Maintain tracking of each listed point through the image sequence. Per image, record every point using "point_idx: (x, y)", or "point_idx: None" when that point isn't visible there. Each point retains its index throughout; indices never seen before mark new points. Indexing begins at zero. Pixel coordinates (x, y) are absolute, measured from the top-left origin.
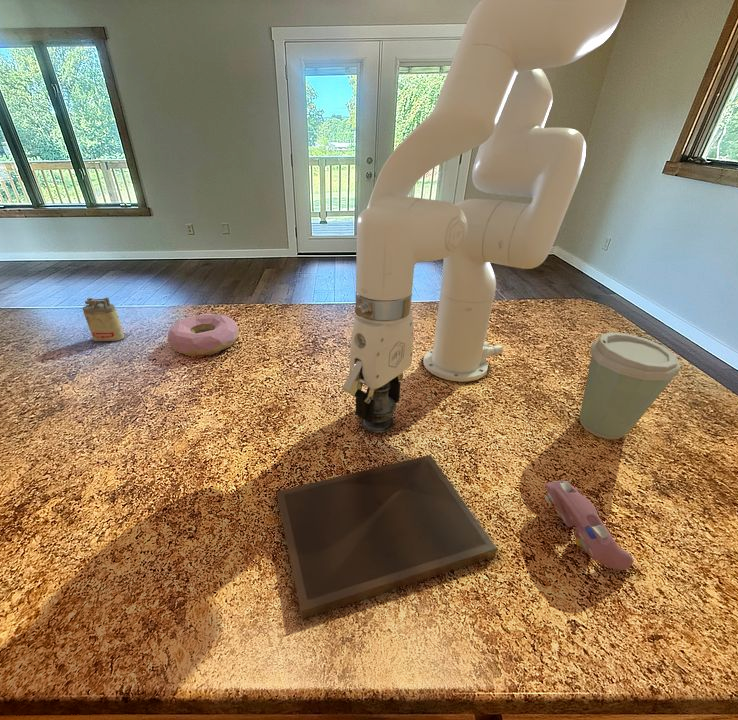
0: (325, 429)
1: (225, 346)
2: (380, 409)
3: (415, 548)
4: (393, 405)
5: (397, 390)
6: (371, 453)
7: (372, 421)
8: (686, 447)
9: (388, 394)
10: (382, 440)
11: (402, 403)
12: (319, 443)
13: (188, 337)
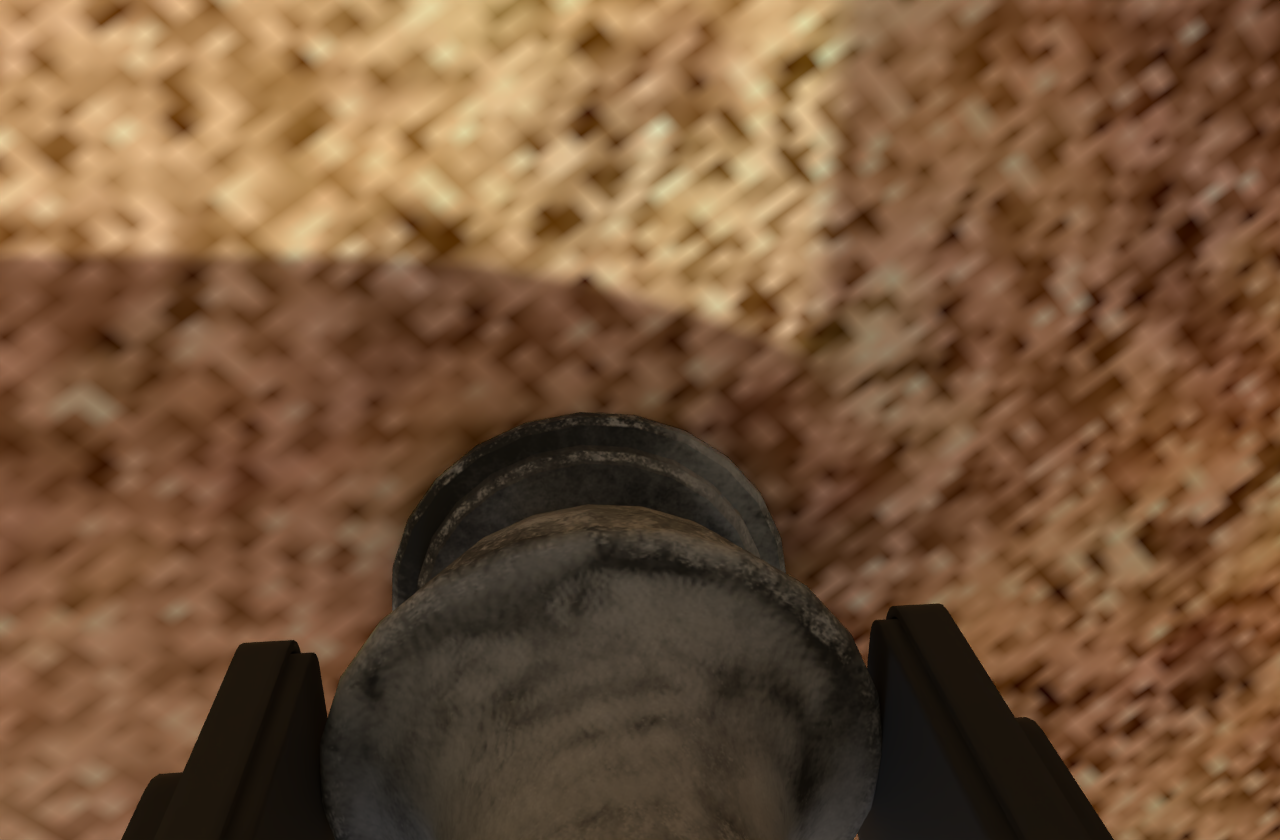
0: None
1: None
2: (743, 688)
3: None
4: (460, 627)
5: (238, 826)
6: (1079, 303)
7: (911, 605)
8: None
9: (317, 835)
10: (813, 351)
11: (44, 609)
12: (1240, 743)
13: None
